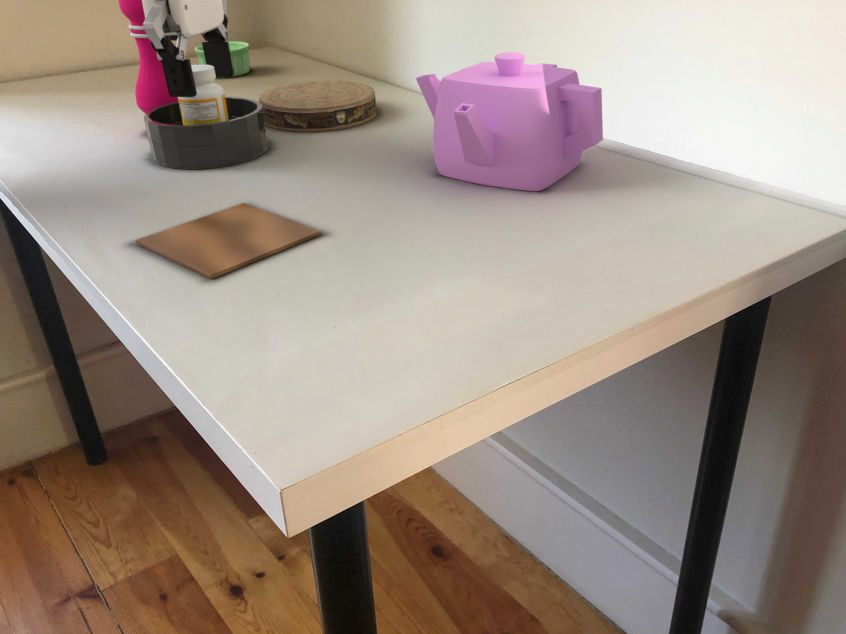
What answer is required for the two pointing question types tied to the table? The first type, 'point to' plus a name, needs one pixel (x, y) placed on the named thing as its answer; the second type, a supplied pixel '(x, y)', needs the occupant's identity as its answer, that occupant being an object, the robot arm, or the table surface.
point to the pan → (207, 136)
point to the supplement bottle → (204, 99)
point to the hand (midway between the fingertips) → (203, 85)
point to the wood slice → (318, 106)
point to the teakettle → (511, 122)
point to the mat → (227, 239)
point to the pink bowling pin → (146, 61)
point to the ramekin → (232, 57)
